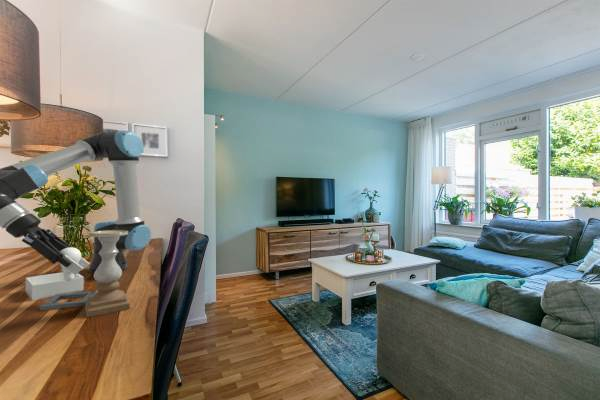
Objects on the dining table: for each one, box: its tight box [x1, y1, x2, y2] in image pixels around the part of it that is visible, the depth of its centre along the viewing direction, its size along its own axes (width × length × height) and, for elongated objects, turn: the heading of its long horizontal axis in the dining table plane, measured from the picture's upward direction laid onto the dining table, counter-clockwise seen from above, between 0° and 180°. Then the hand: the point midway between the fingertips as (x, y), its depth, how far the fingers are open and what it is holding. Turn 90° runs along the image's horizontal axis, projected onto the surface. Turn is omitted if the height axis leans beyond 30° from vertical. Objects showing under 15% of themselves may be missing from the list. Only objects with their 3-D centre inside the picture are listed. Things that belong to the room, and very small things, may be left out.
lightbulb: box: [59, 246, 82, 281], centre depth 89 cm, size 6×6×11 cm
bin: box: [25, 271, 85, 302], centre depth 99 cm, size 14×14×5 cm
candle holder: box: [84, 230, 131, 318], centre depth 85 cm, size 11×11×24 cm
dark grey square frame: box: [39, 290, 98, 311], centre depth 89 cm, size 12×12×1 cm
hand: (82, 268), depth 90 cm, fingers closed on lightbulb, 6 cm apart
